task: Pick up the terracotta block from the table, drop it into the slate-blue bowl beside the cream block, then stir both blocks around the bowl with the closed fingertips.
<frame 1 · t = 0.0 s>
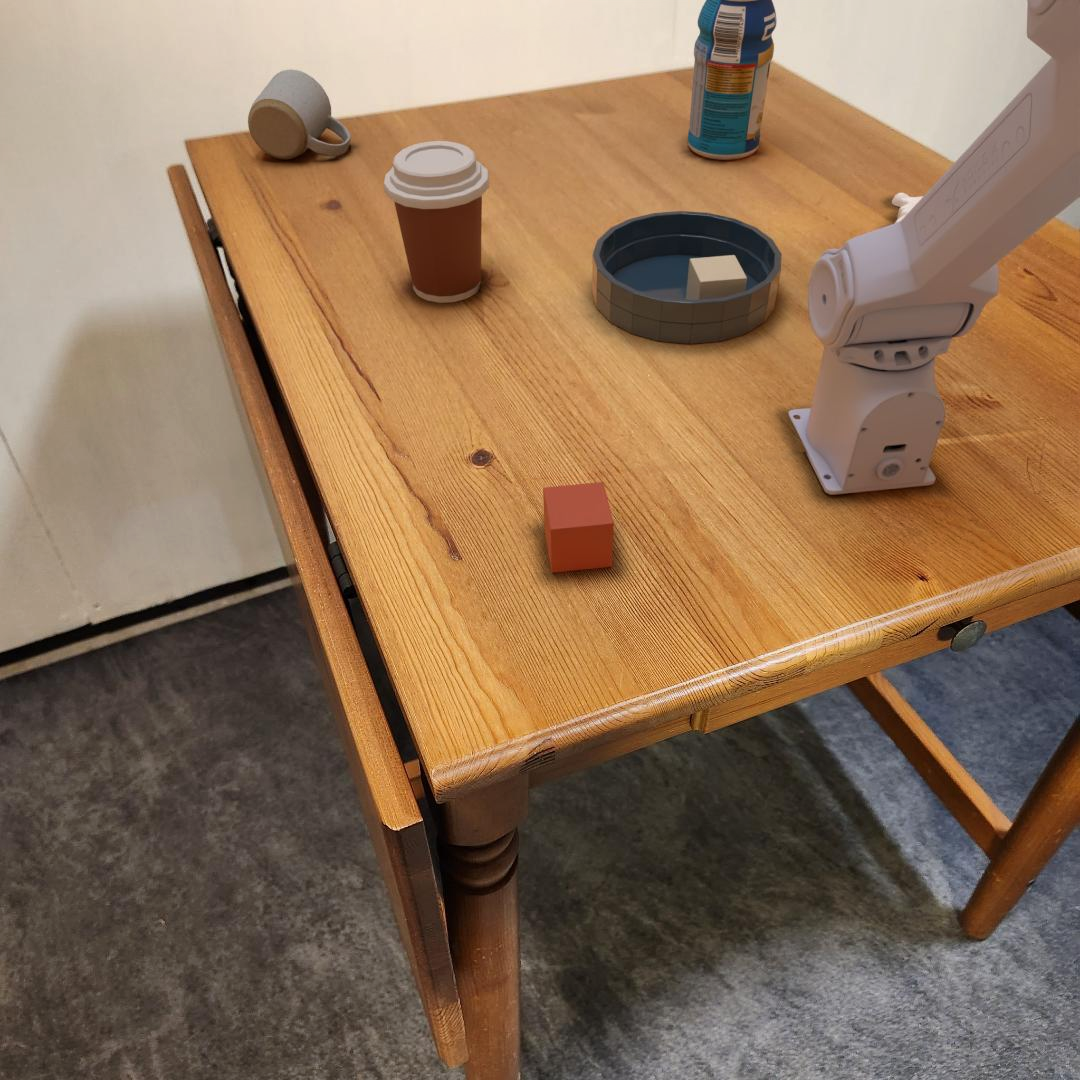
ceramic mug: (307, 150, 111), on the table
beverage bottle: (722, 148, 109), on the table
terracotta block: (577, 548, 63), on the table
garlic: (926, 217, 96), on the table
bowl: (682, 299, 85), on the table
coffee cup: (447, 286, 88), on the table
cream block: (713, 309, 83), point 1 cm above the table, touching bowl
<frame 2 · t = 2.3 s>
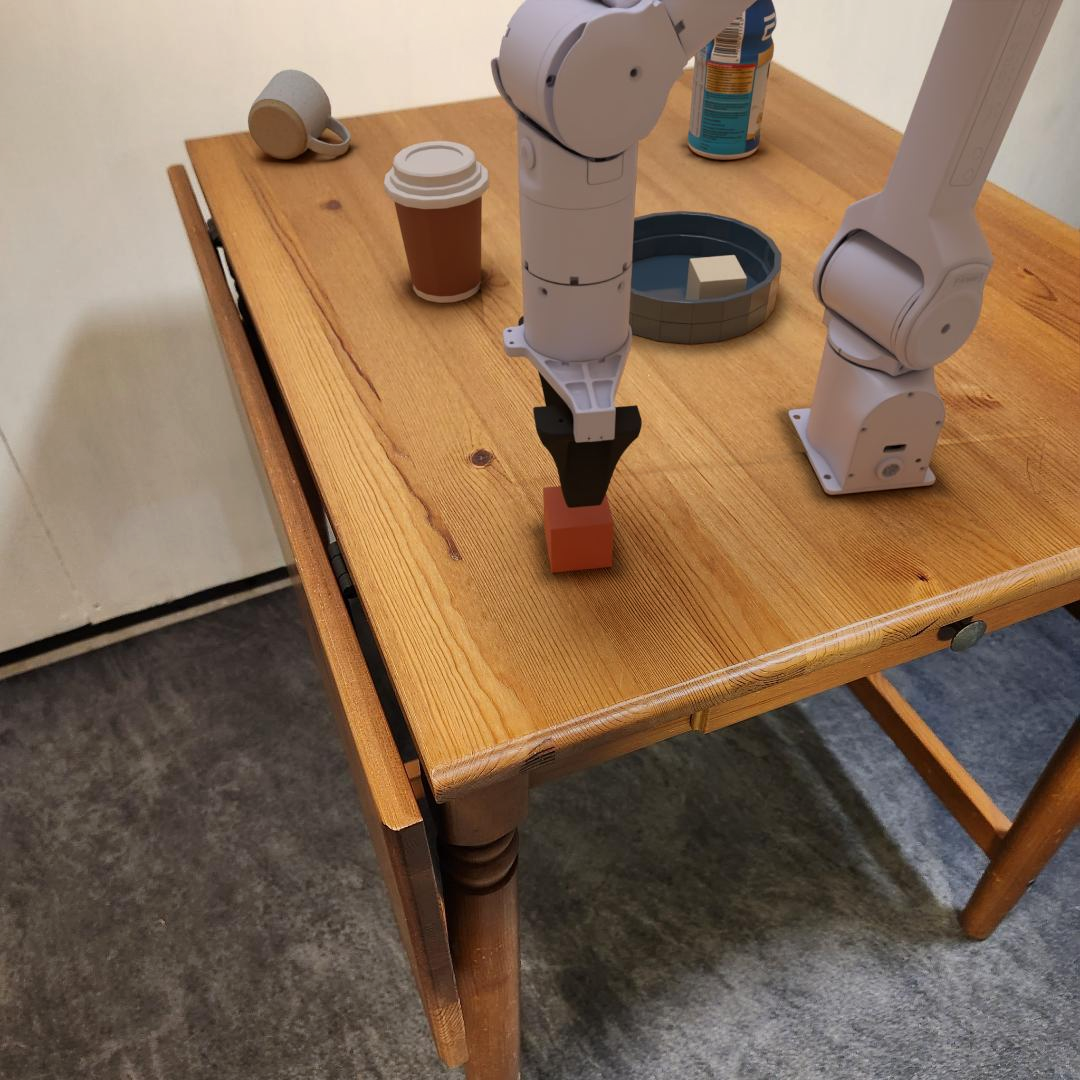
hand: (575, 460, 58), 7 cm above the table, tool pointing down, fingers open, 7 cm apart
nothing on the table moved.
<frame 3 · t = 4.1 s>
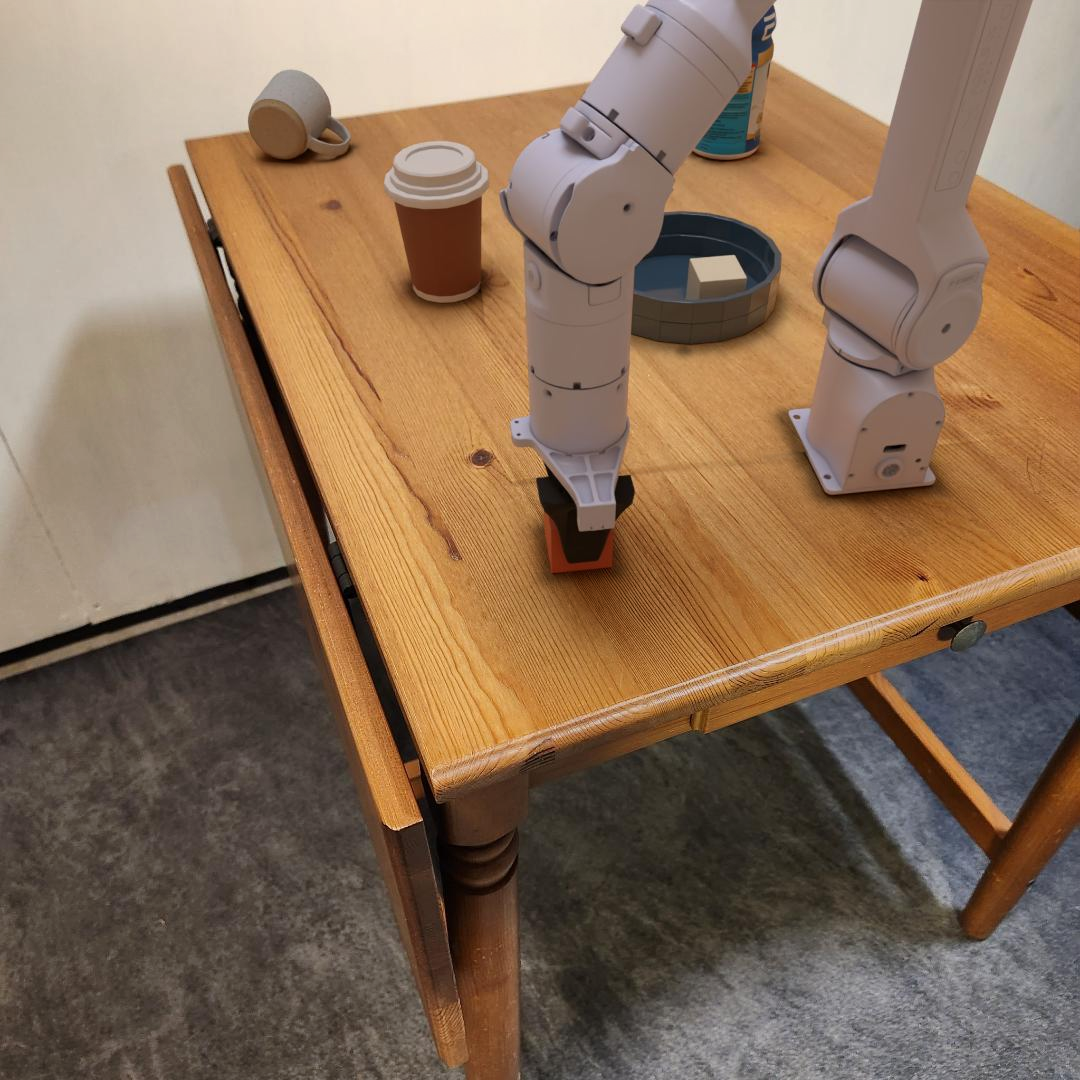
hand: (577, 533, 62), 1 cm above the table, tool pointing down, fingers closed on terracotta block, 4 cm apart
terracotta block: (577, 549, 63), on the table, touching gripper
everything else where it was.
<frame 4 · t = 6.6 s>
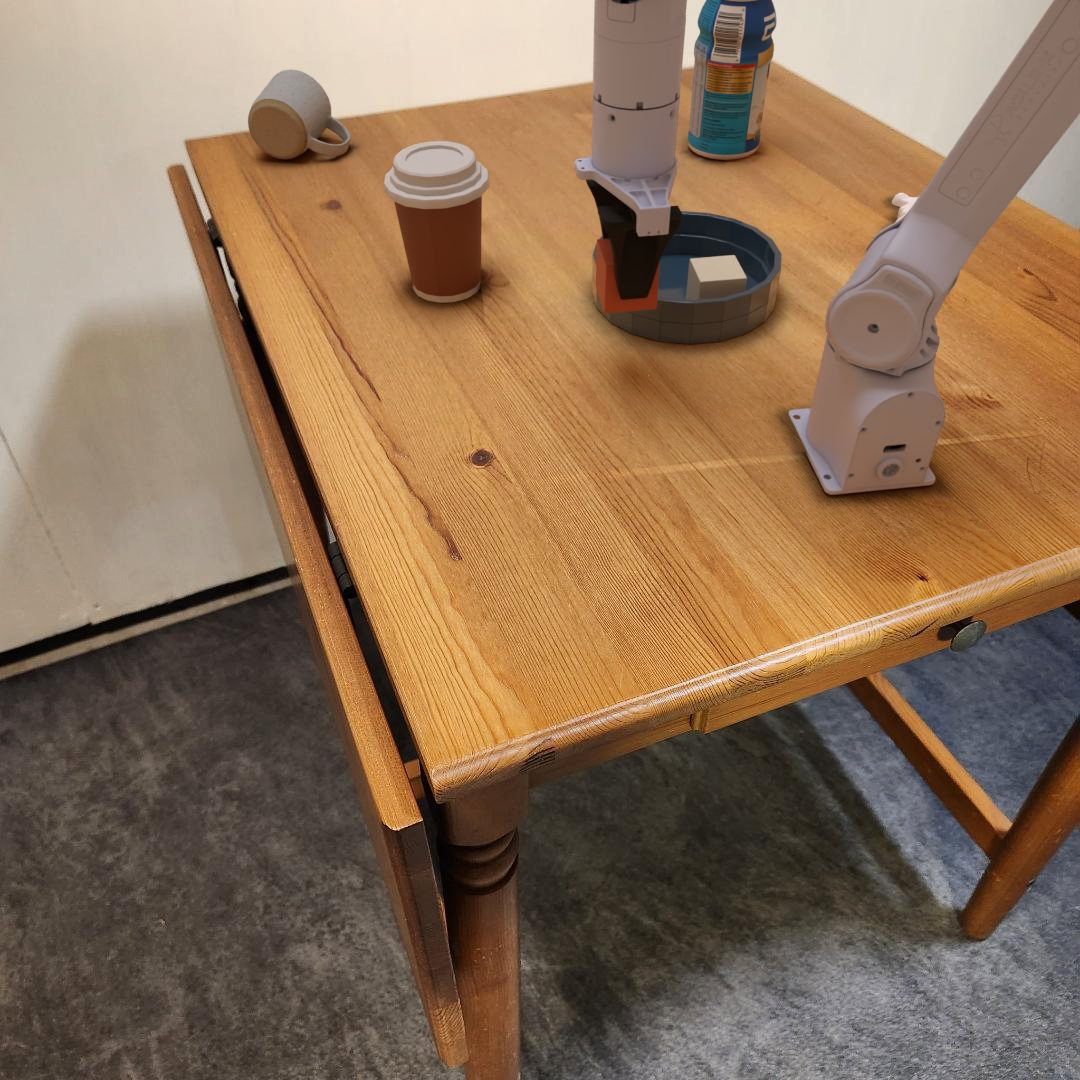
hand: (627, 280, 71), 8 cm above the table, tool pointing down, fingers closed on terracotta block, 4 cm apart
terracotta block: (625, 297, 72), point 7 cm above the table, touching gripper
everything else where it was.
when the fingers open (2 cm above the table, at t = 9.6 s): terracotta block stays where it is, resting on bowl.
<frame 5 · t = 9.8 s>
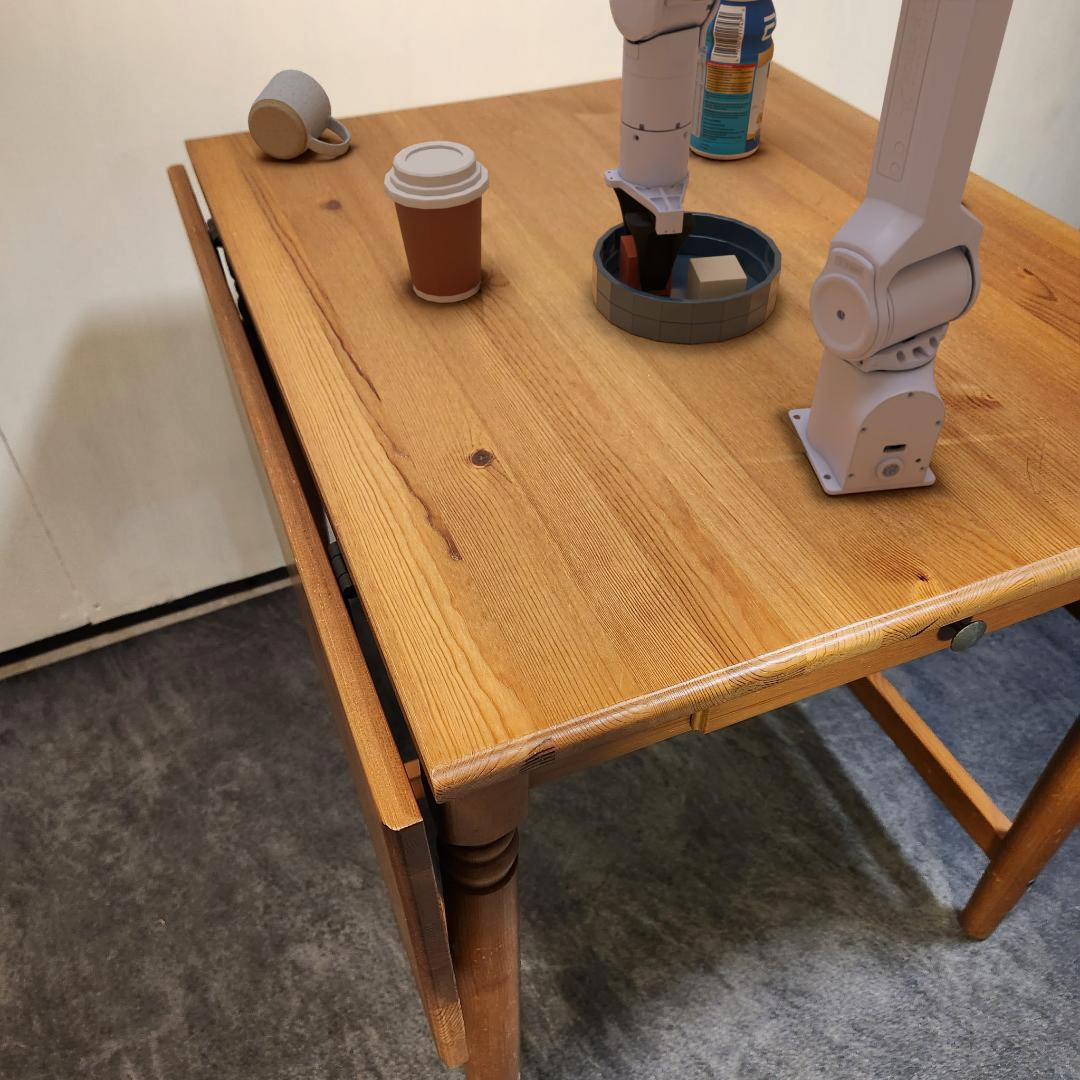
hand: (646, 272, 85), 2 cm above the table, tool pointing down, fingers open, 5 cm apart
terracotta block: (644, 285, 86), point 1 cm above the table, touching bowl
everything else where it was.
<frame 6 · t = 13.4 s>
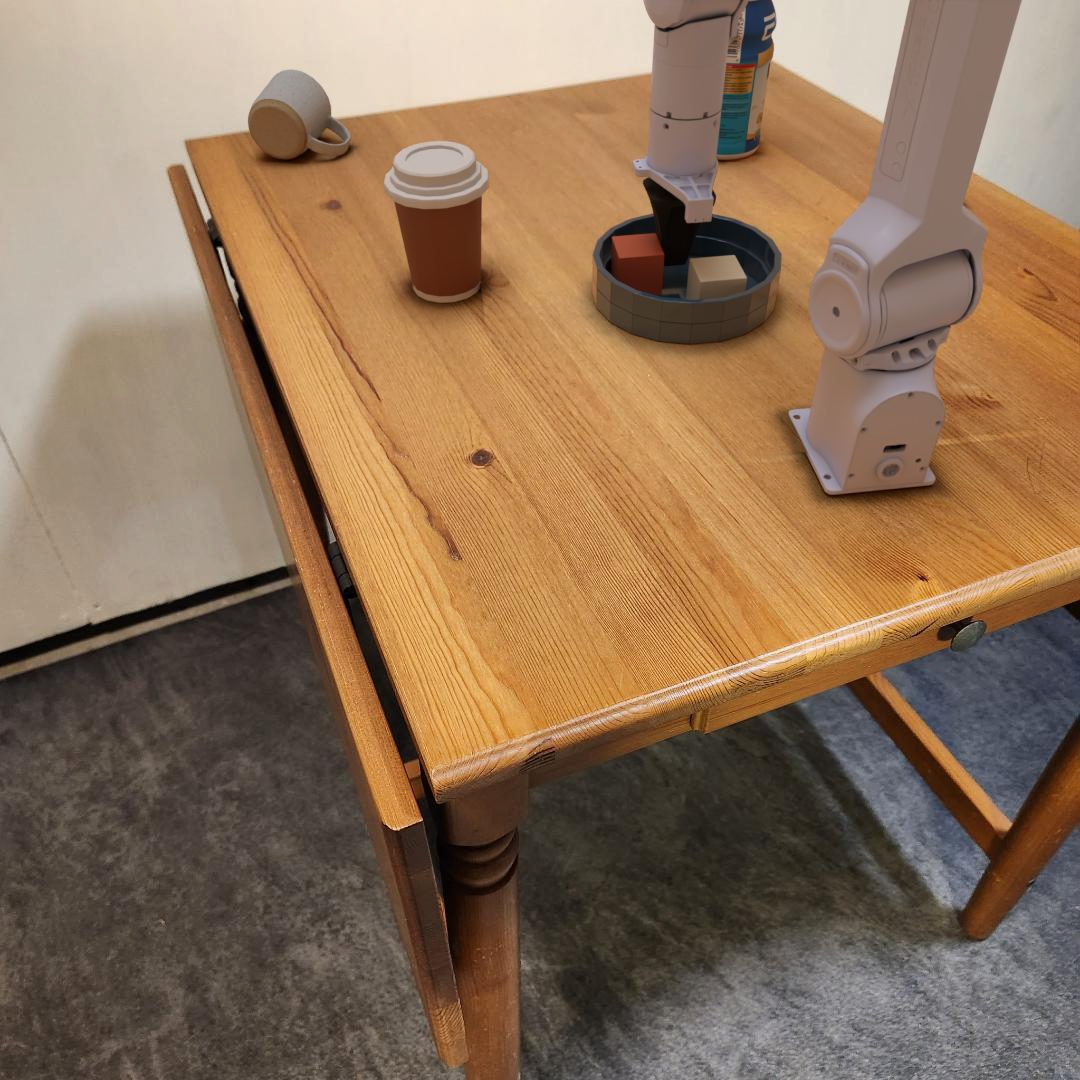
hand: (673, 261, 85), 2 cm above the table, tool pointing down, fingers closed, pressing on terracotta block
terracotta block: (635, 285, 86), point 1 cm above the table, touching bowl, gripper
everything else where it was.
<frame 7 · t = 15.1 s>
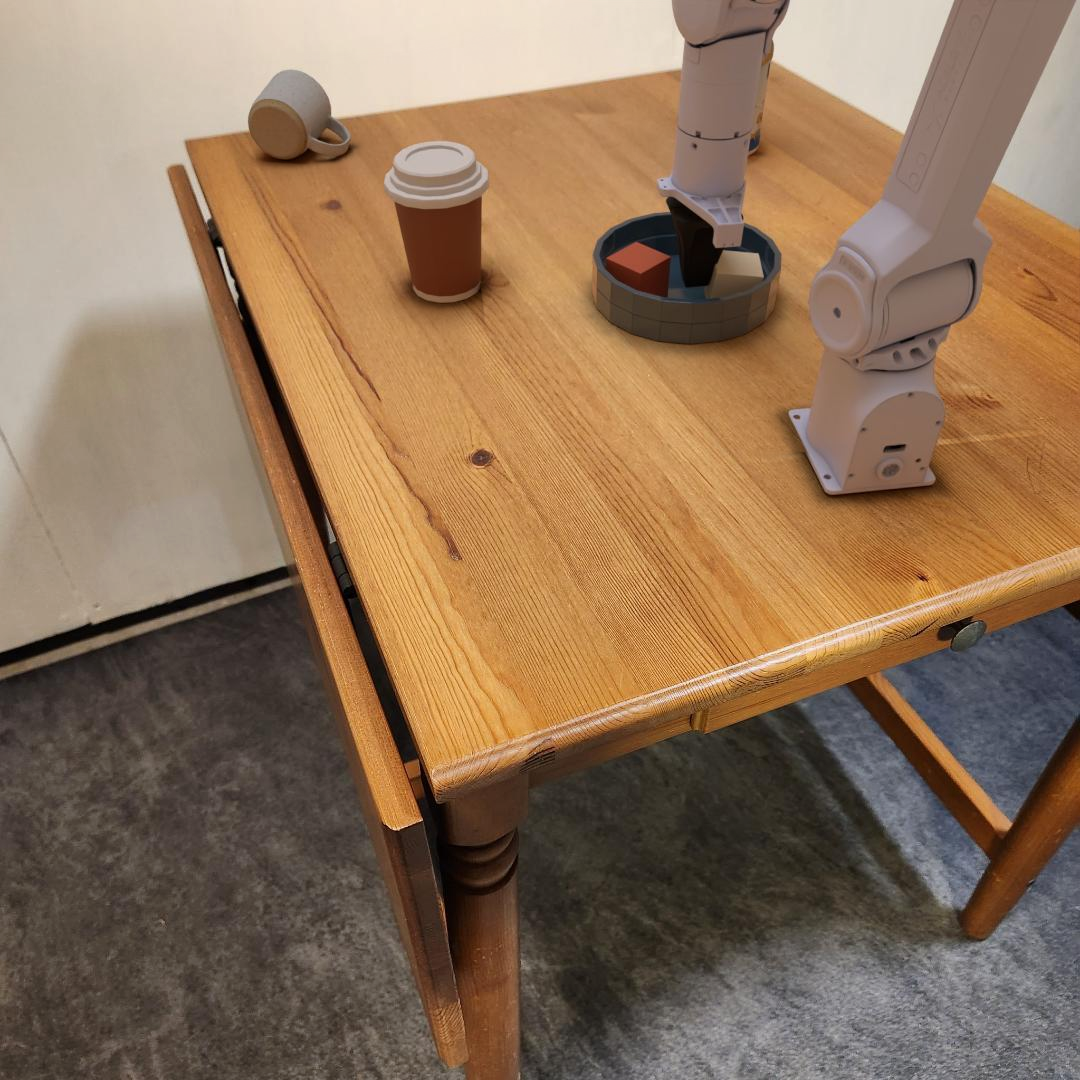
hand: (695, 282, 82), 3 cm above the table, tool pointing down, fingers closed, pressing on cream block
terracotta block: (636, 298, 85), point 1 cm above the table, touching bowl
cream block: (728, 303, 83), point 1 cm above the table, tilted 5°, touching bowl, gripper
everything else where it was.
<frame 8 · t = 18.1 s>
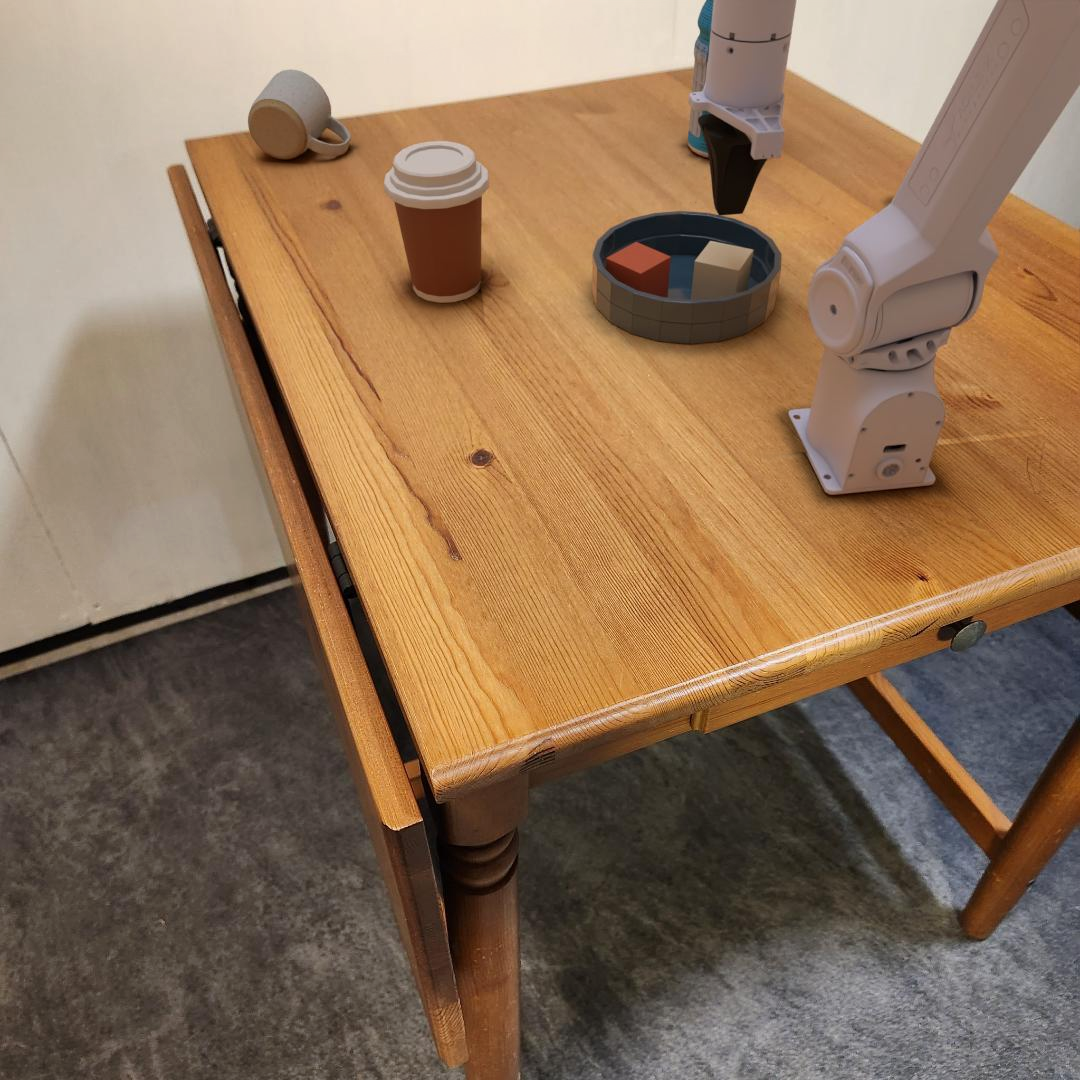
hand: (728, 210, 77), 9 cm above the table, tool pointing down, fingers closed
cream block: (719, 296, 84), point 1 cm above the table, touching bowl
everything else where it was.
at the end: terracotta block inside the target area in the bowl (4.3 cm from its centre), point 0.6 cm above the bowl's base; cream block inside the target area in the bowl (3.2 cm from its centre), point 0.6 cm above the bowl's base; cream block moved 2.3 cm from its start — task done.
